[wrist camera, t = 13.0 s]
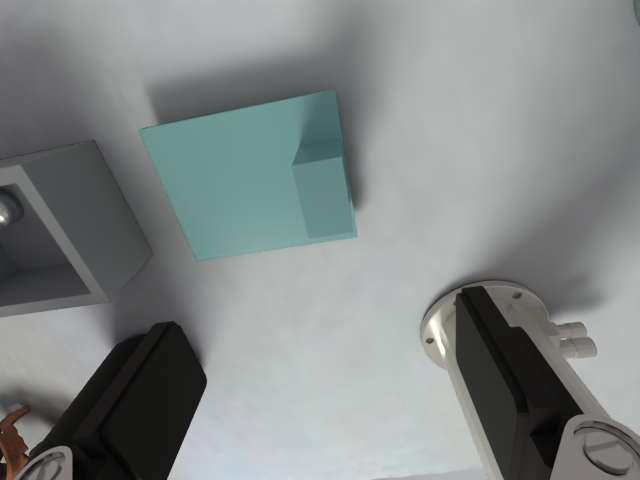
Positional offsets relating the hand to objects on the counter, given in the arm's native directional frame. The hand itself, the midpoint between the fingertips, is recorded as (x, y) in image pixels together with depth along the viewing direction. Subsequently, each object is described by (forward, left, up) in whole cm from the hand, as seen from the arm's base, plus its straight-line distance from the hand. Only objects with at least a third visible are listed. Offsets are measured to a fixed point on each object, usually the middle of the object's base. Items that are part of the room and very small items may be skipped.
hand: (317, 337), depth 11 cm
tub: (+25, -1, -18) cm, 31 cm away
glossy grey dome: (+28, -3, -17) cm, 33 cm away
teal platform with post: (+5, -1, -18) cm, 19 cm away
